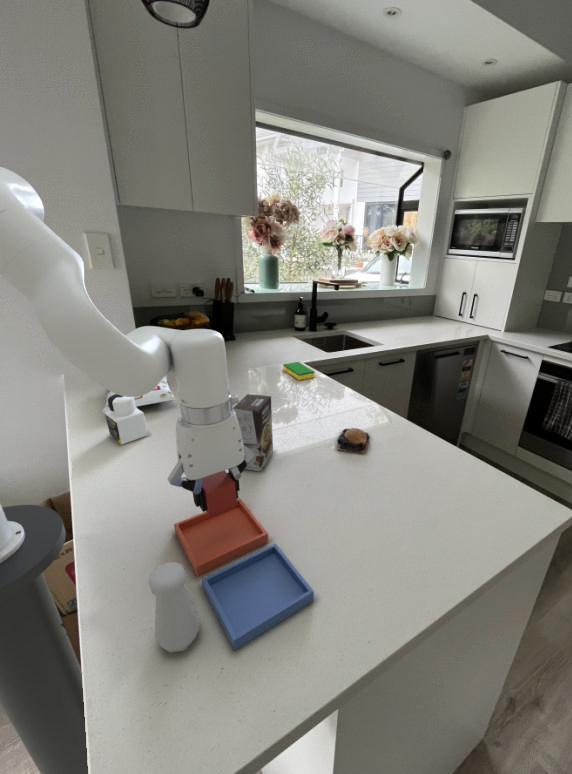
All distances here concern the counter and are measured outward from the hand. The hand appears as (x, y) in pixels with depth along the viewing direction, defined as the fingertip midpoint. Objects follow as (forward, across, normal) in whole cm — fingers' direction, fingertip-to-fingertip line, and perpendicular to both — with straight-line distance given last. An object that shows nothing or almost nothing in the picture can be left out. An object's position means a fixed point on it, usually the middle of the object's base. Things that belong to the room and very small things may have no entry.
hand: (217, 500), depth 67 cm
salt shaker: (+9, +12, +15) cm, 21 cm away
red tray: (+9, 0, 0) cm, 9 cm away
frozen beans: (+9, -2, -74) cm, 75 cm away
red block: (+1, 0, 0) cm, 1 cm away
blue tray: (+9, 0, +15) cm, 17 cm away
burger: (+9, -43, -13) cm, 46 cm away
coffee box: (+9, -17, -20) cm, 28 cm away
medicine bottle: (+9, +6, -50) cm, 51 cm away
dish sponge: (+9, -59, -68) cm, 90 cm away
